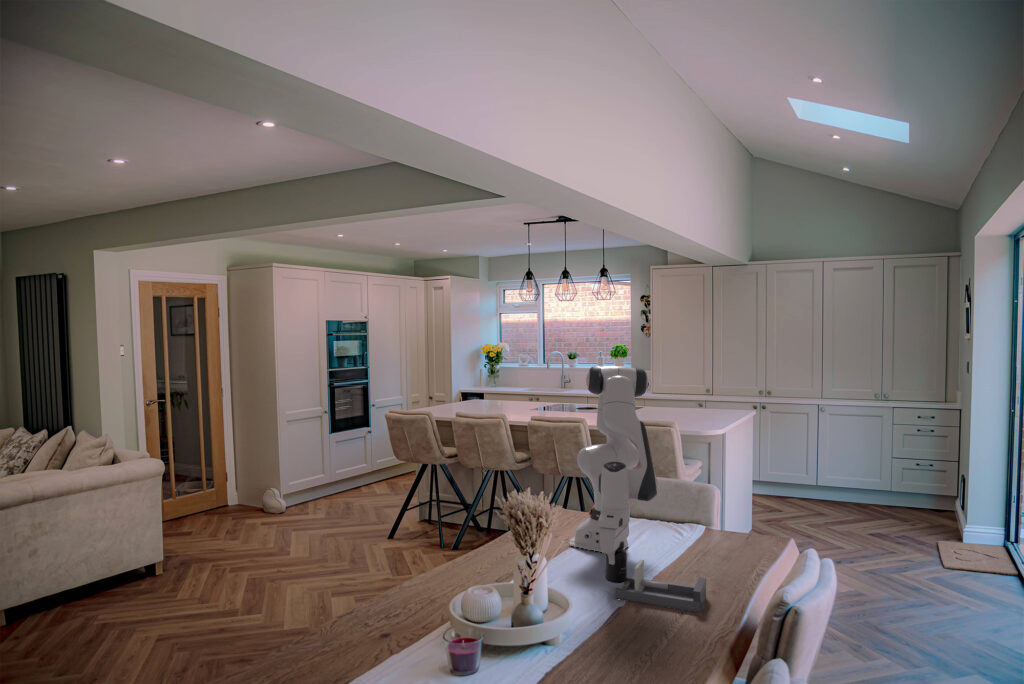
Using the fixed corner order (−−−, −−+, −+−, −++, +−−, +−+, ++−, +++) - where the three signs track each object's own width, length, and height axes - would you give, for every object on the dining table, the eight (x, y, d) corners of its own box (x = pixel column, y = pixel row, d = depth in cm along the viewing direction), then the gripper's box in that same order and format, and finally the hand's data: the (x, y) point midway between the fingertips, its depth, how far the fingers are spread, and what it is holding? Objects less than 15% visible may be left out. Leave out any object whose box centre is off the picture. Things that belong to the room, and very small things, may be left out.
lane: (615, 599, 194) (615, 579, 194) (625, 585, 204) (625, 567, 204) (700, 612, 184) (700, 592, 184) (706, 598, 194) (705, 578, 194)
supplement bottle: (626, 584, 196) (626, 545, 196) (604, 583, 197) (604, 544, 197) (627, 576, 202) (627, 538, 202) (605, 575, 204) (605, 537, 204)
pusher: (634, 597, 193) (634, 568, 193) (641, 588, 201) (640, 559, 201) (664, 602, 189) (664, 572, 189) (670, 592, 197) (669, 563, 197)
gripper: (614, 506, 210) (615, 548, 210) (595, 522, 192) (596, 568, 192) (633, 508, 208) (634, 550, 208) (616, 525, 189) (617, 571, 189)
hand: (615, 559), depth 200 cm, fingers closed on supplement bottle, 7 cm apart
